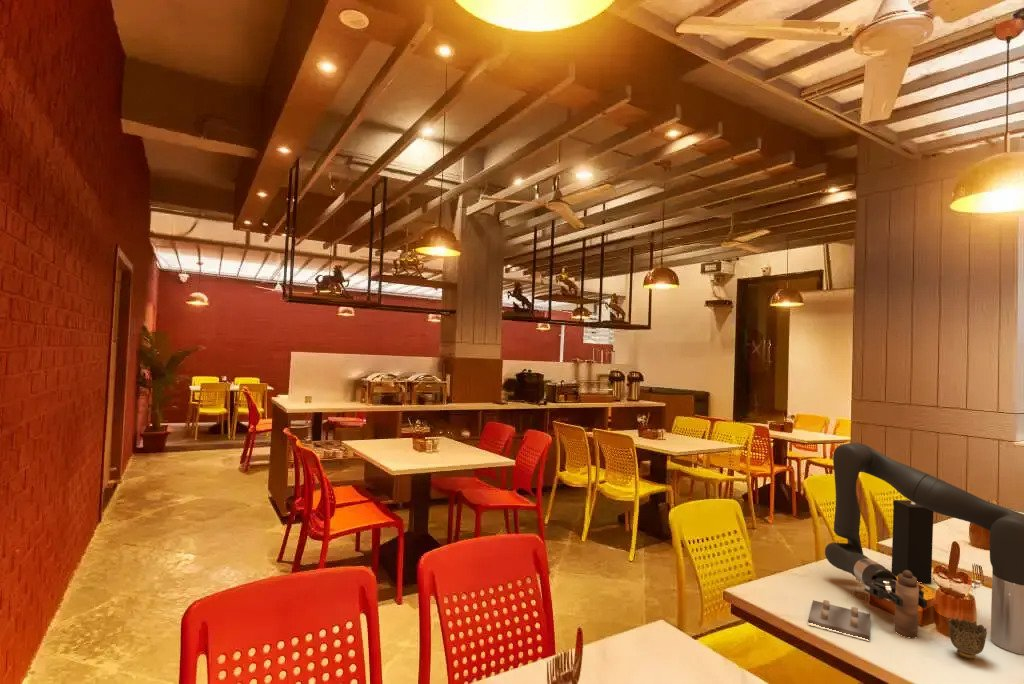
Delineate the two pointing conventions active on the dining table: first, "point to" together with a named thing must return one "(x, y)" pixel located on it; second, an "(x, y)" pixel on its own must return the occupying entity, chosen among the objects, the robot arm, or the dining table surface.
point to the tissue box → (912, 540)
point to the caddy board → (840, 619)
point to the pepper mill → (907, 605)
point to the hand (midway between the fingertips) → (913, 603)
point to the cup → (967, 637)
